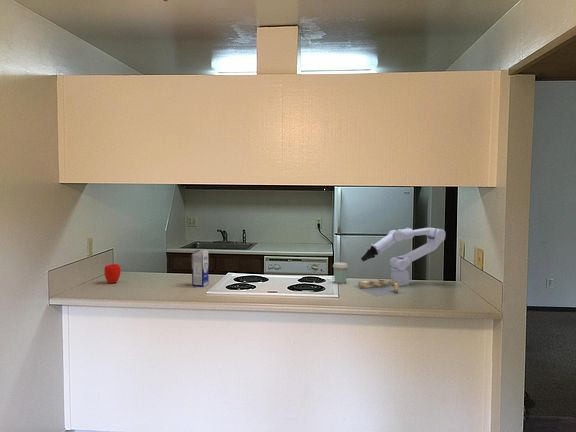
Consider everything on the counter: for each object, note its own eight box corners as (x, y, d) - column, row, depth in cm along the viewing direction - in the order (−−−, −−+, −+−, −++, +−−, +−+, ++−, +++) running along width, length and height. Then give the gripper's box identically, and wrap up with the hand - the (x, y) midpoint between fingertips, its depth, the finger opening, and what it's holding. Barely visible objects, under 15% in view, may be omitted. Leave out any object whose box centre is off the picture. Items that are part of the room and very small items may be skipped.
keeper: (388, 290, 236) (388, 280, 236) (392, 290, 237) (393, 280, 236) (394, 293, 230) (395, 283, 229) (399, 293, 230) (399, 283, 230)
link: (382, 284, 249) (382, 279, 249) (387, 286, 245) (387, 280, 245) (357, 286, 244) (357, 281, 243) (361, 288, 240) (361, 282, 239)
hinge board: (380, 285, 253) (380, 283, 253) (406, 295, 230) (406, 293, 230) (352, 287, 247) (352, 285, 247) (376, 298, 224) (376, 296, 224)
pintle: (382, 279, 247) (382, 278, 247) (384, 280, 246) (384, 279, 245) (379, 279, 247) (379, 278, 247) (380, 280, 245) (381, 279, 245)
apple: (119, 284, 254) (119, 265, 253) (103, 284, 252) (102, 265, 251) (121, 280, 263) (121, 262, 262) (106, 281, 261) (105, 263, 260)
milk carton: (203, 287, 247) (202, 251, 246) (192, 286, 249) (191, 250, 248) (208, 284, 254) (208, 249, 253) (197, 283, 256) (197, 248, 255)
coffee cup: (350, 285, 253) (350, 264, 252) (336, 286, 250) (336, 265, 249) (343, 282, 261) (344, 261, 260) (330, 283, 258) (330, 262, 257)
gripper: (375, 241, 255) (356, 255, 253) (381, 236, 241) (361, 250, 239) (383, 251, 254) (364, 265, 251) (389, 246, 240) (369, 261, 237)
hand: (363, 258), depth 245 cm, fingers open, 7 cm apart
